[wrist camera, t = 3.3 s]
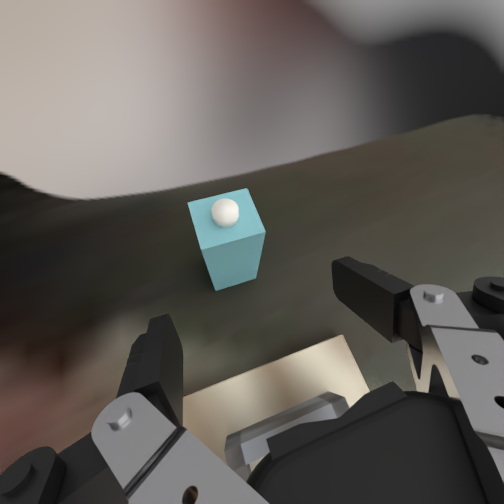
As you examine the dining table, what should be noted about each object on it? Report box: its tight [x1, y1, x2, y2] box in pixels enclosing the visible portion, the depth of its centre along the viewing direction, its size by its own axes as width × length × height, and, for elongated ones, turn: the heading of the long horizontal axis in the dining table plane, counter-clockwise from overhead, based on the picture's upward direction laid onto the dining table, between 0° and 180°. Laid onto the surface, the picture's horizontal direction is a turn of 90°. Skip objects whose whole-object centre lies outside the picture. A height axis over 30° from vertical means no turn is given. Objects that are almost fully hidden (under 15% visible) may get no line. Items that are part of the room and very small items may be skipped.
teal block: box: [188, 188, 265, 291], centre depth 18 cm, size 4×4×10 cm
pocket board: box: [183, 335, 370, 482], centre depth 15 cm, size 14×14×4 cm
